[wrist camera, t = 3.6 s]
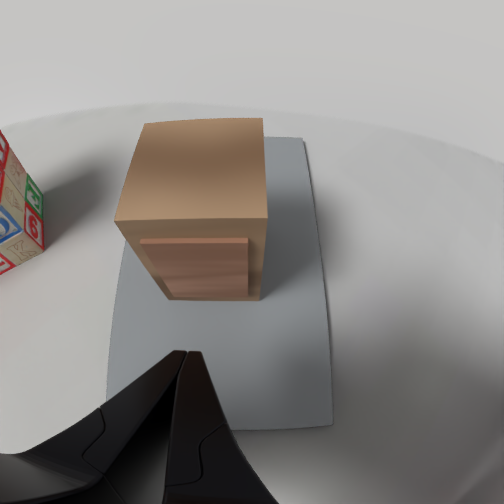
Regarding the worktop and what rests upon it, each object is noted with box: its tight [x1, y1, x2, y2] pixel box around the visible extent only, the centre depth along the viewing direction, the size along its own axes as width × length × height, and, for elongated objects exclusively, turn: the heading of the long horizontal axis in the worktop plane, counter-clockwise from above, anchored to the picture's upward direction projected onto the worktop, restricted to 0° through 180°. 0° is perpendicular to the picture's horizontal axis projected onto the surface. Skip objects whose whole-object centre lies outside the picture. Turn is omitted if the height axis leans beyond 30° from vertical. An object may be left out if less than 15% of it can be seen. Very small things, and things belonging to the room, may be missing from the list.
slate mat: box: [106, 137, 333, 430], centre depth 18 cm, size 20×12×1 cm, turn 1°
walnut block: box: [114, 118, 268, 301], centre depth 14 cm, size 5×5×8 cm
